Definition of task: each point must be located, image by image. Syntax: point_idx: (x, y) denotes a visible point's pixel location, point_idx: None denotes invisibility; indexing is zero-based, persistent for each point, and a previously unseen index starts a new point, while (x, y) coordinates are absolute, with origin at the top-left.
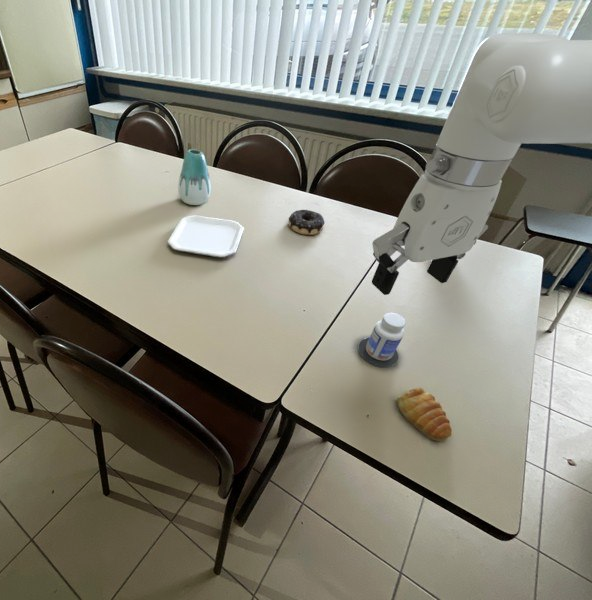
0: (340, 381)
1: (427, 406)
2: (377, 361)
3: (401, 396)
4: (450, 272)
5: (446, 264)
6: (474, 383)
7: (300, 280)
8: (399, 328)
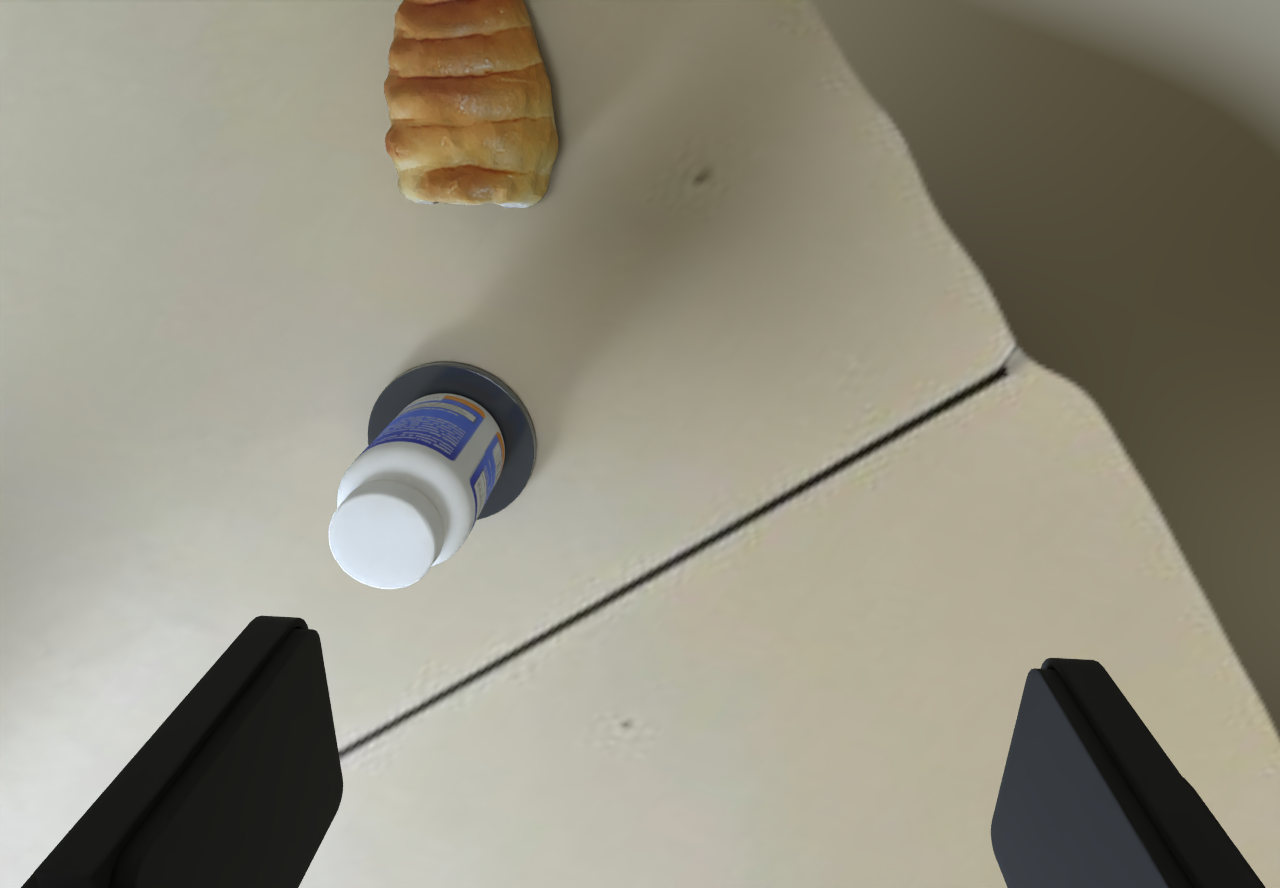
0: (704, 364)
1: (465, 96)
2: (488, 401)
3: (530, 193)
4: (198, 715)
5: (204, 848)
6: (126, 171)
7: (543, 864)
8: (387, 487)
